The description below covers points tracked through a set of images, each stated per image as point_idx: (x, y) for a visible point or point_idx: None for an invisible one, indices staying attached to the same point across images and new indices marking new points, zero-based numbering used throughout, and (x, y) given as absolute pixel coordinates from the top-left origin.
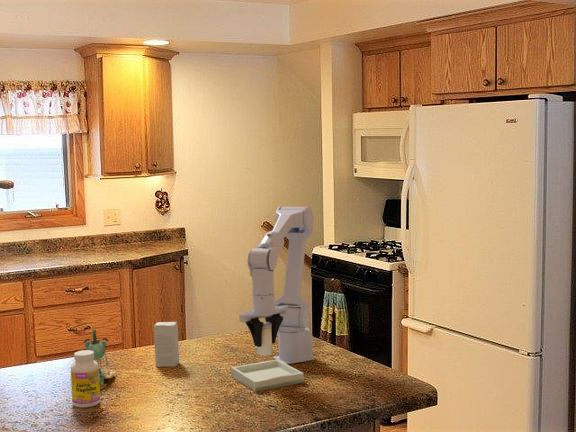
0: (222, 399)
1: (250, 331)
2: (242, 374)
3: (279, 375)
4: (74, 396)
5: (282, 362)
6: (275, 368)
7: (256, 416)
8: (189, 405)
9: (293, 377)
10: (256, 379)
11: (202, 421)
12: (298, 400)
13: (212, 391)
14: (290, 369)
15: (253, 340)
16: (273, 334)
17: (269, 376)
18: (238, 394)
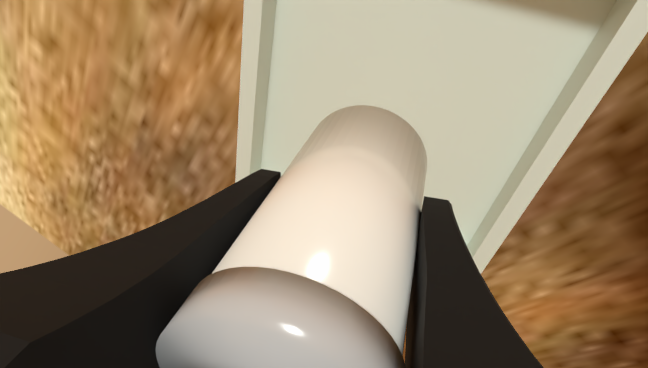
0: (127, 142)
1: (140, 236)
2: (240, 75)
3: (441, 155)
4: None
5: (607, 78)
6: (552, 36)
7: None
8: (21, 103)
9: None
10: (313, 111)
11: (49, 217)
12: None
13: (114, 39)
14: (509, 193)
15: (230, 187)
16: (407, 329)
17: None
18: (191, 148)
